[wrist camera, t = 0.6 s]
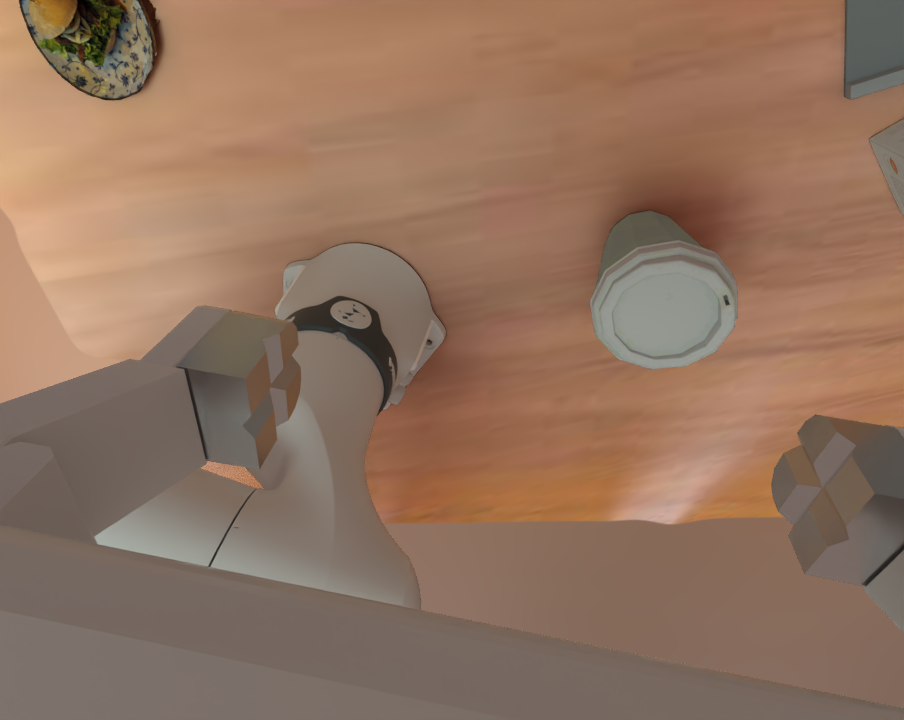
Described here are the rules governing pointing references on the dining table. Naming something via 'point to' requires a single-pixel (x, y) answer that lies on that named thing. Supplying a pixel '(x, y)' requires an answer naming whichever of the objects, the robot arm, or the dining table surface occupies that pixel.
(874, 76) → the mat
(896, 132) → the small box
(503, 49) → the dining table surface
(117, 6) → the burger
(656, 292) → the disposable coffee cup
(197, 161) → the dining table surface
